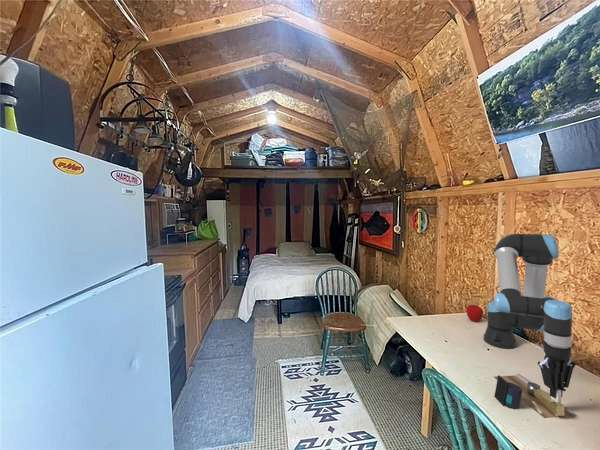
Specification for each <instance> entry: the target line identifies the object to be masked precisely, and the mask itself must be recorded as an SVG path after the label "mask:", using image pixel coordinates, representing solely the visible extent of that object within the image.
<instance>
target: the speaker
mask: <svg viewBox="0 0 600 450" xmlns="http://www.w3.org/2000/svg"><path fill="white" fill-rule="evenodd" d="M497 376H498V379H496V385H495V390H494V396H493V397H494V398H495V399H496V400H497V401H498V403H500V404H501V405H502V407H506V408H508V409H512V410H518V409H519V408H520V404H521V401H522V400H521V396H522V391H523V390H522V389H521V388H520V387H519V386H517V385H515V384H513V383H510V382H506V381H505V380H504V379H503V378H502V377H501V376H502V375H499V374H498V375H497Z"/></svg>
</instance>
